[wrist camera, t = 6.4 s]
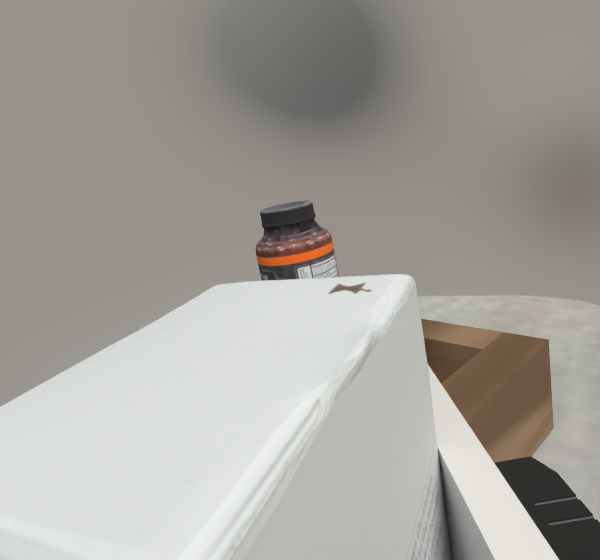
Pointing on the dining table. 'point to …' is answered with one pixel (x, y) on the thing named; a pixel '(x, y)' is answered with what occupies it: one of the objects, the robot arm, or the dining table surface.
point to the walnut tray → (494, 384)
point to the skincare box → (236, 434)
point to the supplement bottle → (294, 244)
